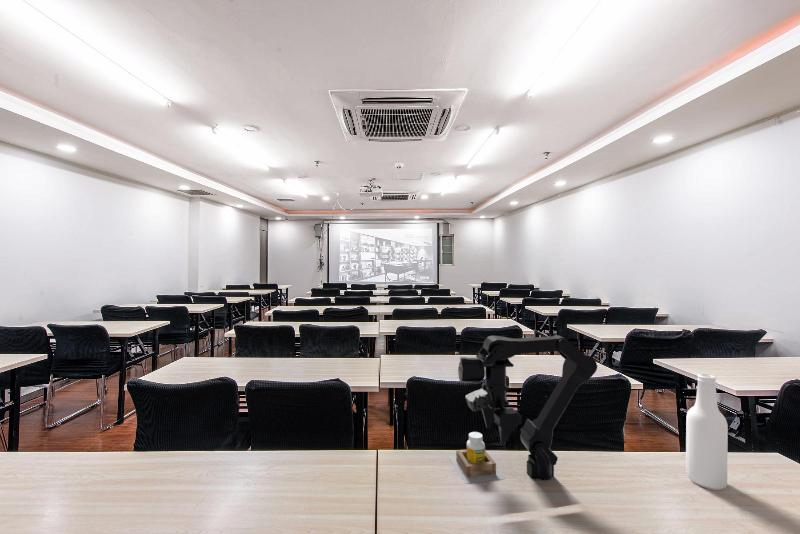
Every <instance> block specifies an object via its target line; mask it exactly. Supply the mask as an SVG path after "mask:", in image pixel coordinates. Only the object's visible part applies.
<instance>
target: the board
mask: <svg viewBox="0 0 800 534" xmlns="http://www.w3.org/2000/svg"><path fill="white" fill-rule="evenodd" d="M448 458H449V460H450V461H451V462H452V464H453V466H454V469H456V471H457V473H458V474H459V476H460V478H461V480H462V481H463V483H464V485H465V484H466V485H467V484H474V483H475V484H476V483H482V482H489V481H498V480H505V479H506V478H505V476H504V475H503V474H502V473H501V471H500V470H499V469H498V468H497V466H496V474H490V475H482V476H474V477H466V475H465V473H464V472H463V470H462V469H461V467H460V465H459V464H458V462H457V460H456V454H455V455H449V456H448Z"/></svg>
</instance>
